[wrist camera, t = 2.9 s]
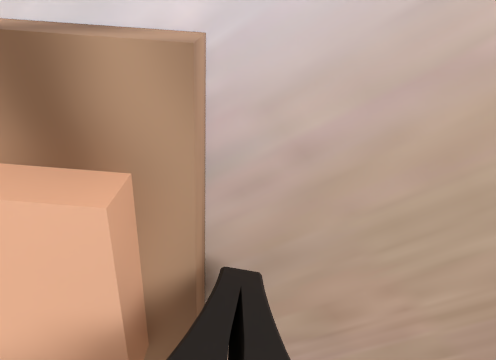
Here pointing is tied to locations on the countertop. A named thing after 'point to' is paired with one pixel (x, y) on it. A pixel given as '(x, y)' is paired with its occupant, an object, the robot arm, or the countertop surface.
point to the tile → (69, 266)
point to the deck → (120, 140)
